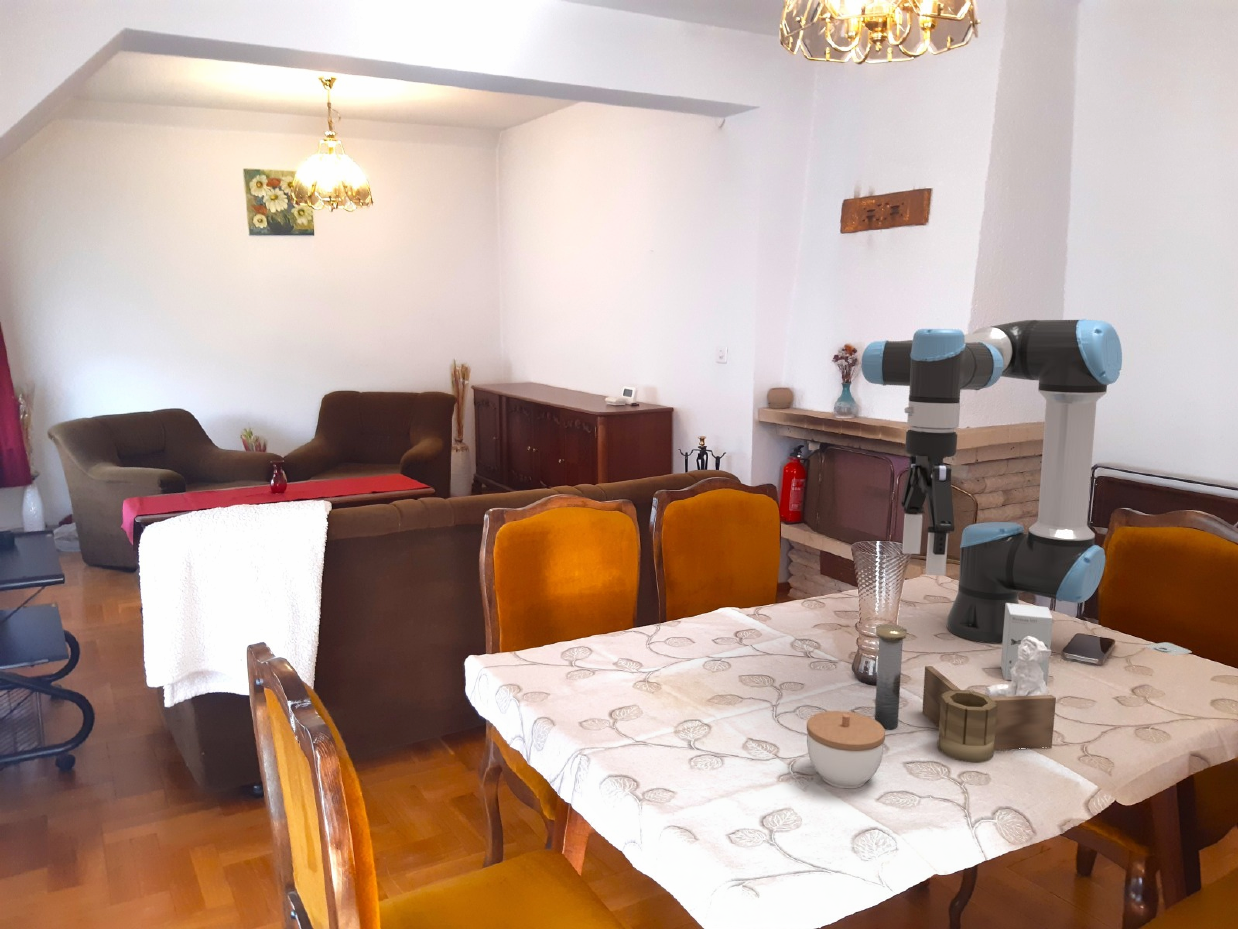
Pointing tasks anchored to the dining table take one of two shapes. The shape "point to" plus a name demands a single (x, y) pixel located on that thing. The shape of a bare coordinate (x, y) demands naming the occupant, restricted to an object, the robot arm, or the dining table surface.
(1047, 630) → the supplement box
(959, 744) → the hinge
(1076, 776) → the dining table surface
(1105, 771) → the dining table surface
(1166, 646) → the mounting bracket
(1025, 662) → the sitting furry creature
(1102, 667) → the dining table surface
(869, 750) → the lidded jar
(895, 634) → the hinge pin
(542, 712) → the dining table surface
